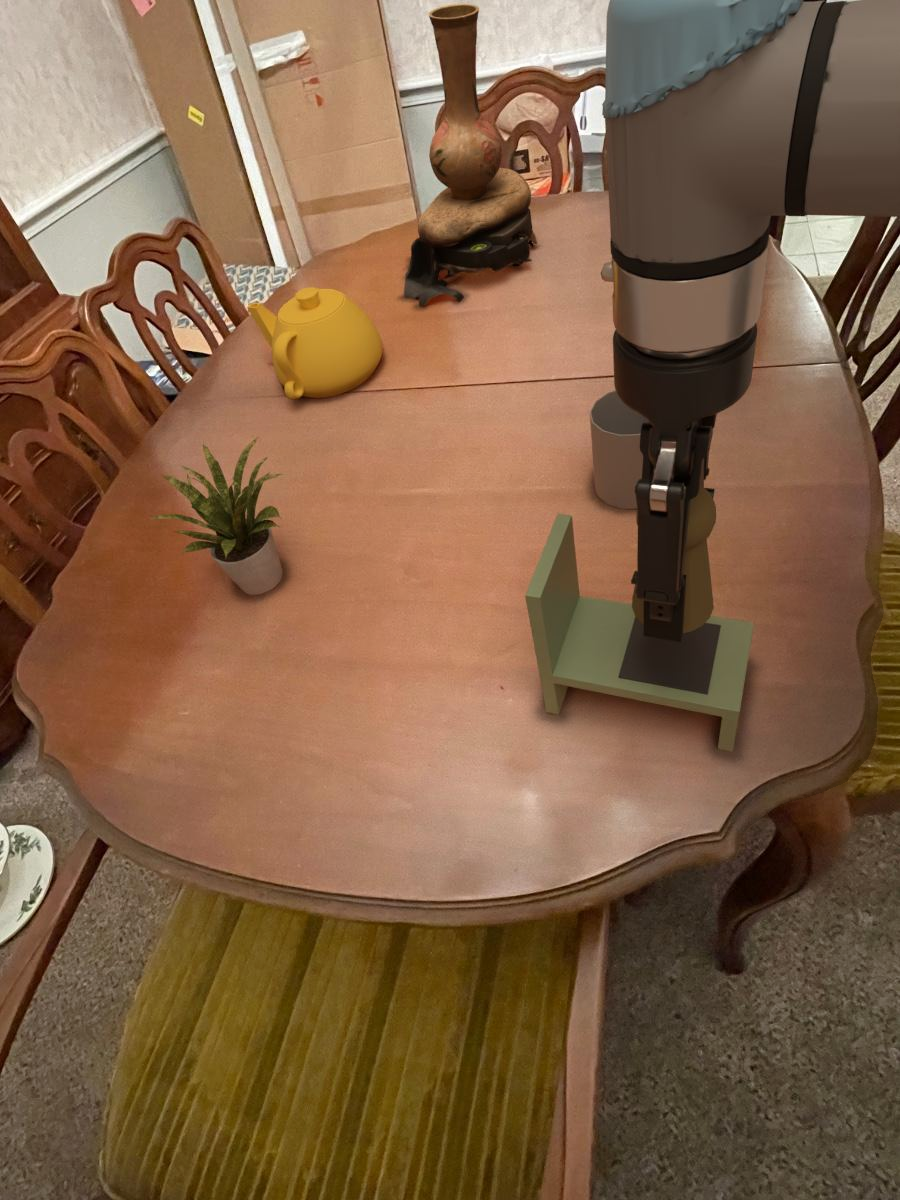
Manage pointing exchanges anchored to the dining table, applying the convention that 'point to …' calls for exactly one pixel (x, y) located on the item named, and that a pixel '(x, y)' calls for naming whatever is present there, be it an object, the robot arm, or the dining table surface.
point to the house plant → (233, 525)
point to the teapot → (320, 343)
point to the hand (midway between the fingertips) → (671, 600)
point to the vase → (466, 177)
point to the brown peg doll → (693, 565)
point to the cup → (616, 450)
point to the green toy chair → (629, 646)
